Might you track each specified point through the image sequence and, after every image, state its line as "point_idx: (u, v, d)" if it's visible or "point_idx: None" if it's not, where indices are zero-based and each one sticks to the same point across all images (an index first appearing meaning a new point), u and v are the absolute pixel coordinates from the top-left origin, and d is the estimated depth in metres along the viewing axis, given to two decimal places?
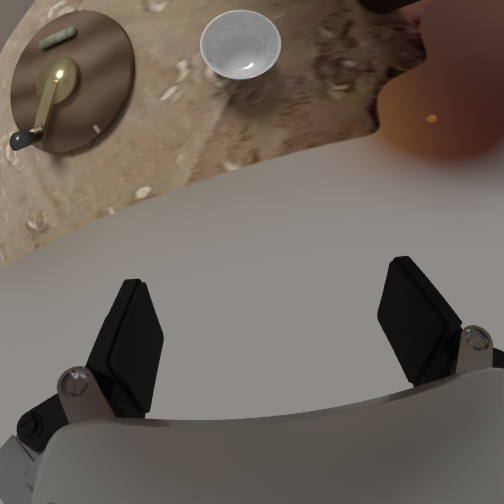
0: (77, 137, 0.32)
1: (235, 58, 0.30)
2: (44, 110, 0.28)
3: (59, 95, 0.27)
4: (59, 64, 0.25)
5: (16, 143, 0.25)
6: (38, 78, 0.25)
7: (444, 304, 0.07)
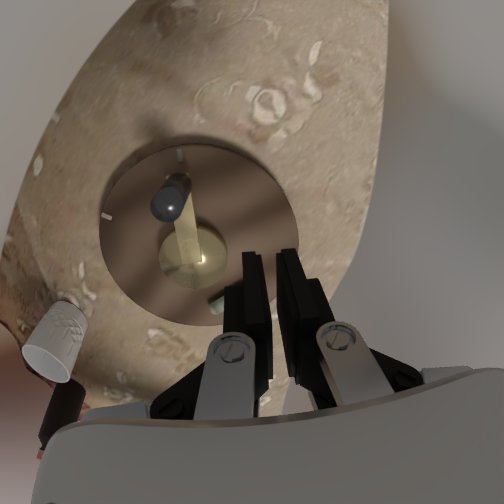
0: (125, 194, 0.26)
1: None
2: (182, 223, 0.26)
3: (170, 246, 0.28)
4: (197, 280, 0.30)
5: (162, 205, 0.20)
6: (223, 256, 0.29)
7: (307, 296, 0.08)
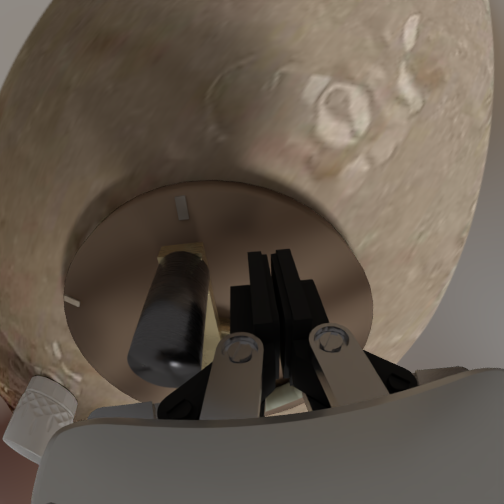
0: (93, 271, 0.15)
1: None
2: None
3: None
4: None
5: (154, 364, 0.08)
6: None
7: (300, 298, 0.08)
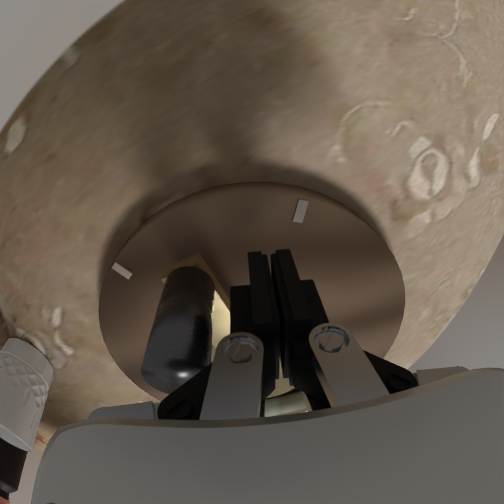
0: (169, 245, 0.15)
1: None
2: (221, 337, 0.15)
3: None
4: None
5: (166, 376, 0.09)
6: None
7: (300, 297, 0.08)
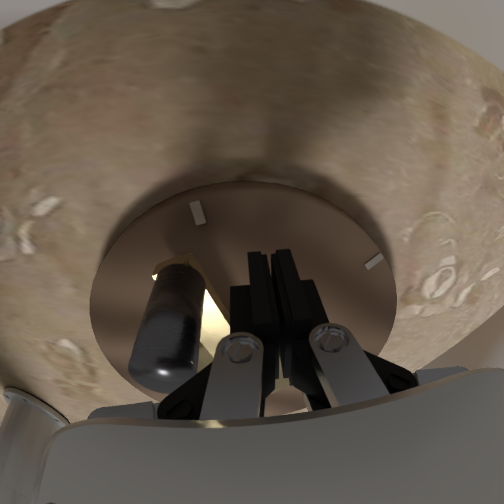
0: (266, 222, 0.14)
1: None
2: (210, 335, 0.15)
3: (206, 363, 0.17)
4: None
5: (153, 374, 0.09)
6: None
7: (300, 297, 0.08)
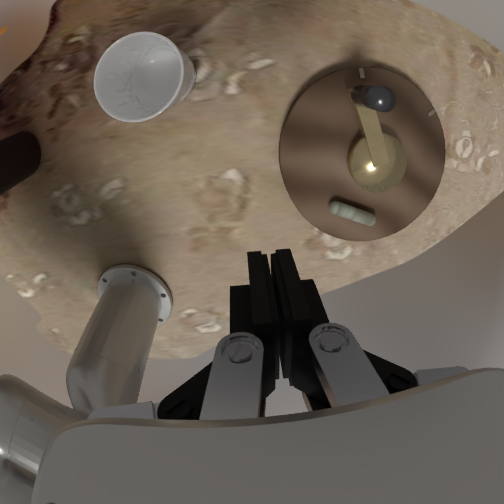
0: (388, 82, 0.25)
1: (168, 74, 0.25)
2: (370, 128, 0.26)
3: (361, 154, 0.28)
4: (385, 182, 0.30)
5: (381, 98, 0.20)
6: (403, 154, 0.28)
7: (300, 297, 0.08)
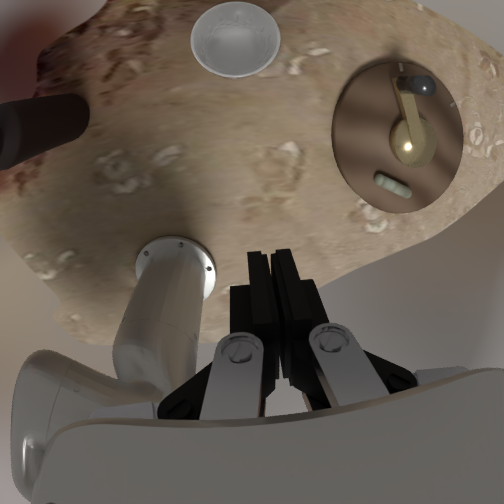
0: None
1: (241, 49, 0.27)
2: (410, 111, 0.28)
3: (402, 133, 0.30)
4: (420, 159, 0.32)
5: (426, 84, 0.22)
6: (433, 135, 0.30)
7: (300, 297, 0.08)
